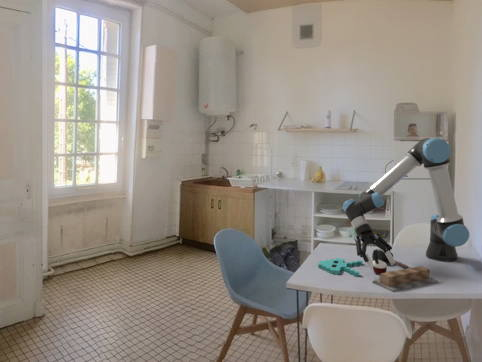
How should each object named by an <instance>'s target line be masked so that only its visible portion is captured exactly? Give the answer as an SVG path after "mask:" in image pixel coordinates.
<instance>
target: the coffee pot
mask: <svg viewBox="0 0 482 362" xmlns="http://www.w3.org/2000/svg"><path fill="white" fill-rule="evenodd" d="M374 250H375V251H377V257H378V260H381V261H383V262H385V263H386V262H389V260H388V258H387V256H386V255H385V253H386V252H384V251H383V250H382V249H380V248H376V249H374ZM393 254H394V253H392V255H393ZM393 256H394V255H393ZM371 258H372V262H373V261H374V260H375V258H374V252H373V251H372V255H371ZM395 262H396V263H395V264H397V265H398V266H400V267H401V268H402V269H408V268H410V267H409V266H408V265H407V264H405V263H403V262H400V261H397V260H395Z"/></svg>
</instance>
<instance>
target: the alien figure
mask: <svg viewBox="0 0 482 362" xmlns="http://www.w3.org/2000/svg"><path fill="white" fill-rule="evenodd" d="M353 266H354V267H357V266H363V260H361V259H357V261H356V260H353V261H347V262H345V258H339V257H338V258H336V257H335V259H334V258H330V259H325V260H320V261H319V263H318V264H317V267H318V269H321V270H322V269H325V270H324V271H325V272H326V271H329V272H328V273H329V274H330V273H333V274H332V275H340V273H341V271H344V272H345V273H348V274H349V275H353V277H359V276H360V271H358V270H355V269H354V268H352V267H353Z"/></svg>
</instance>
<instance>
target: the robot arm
mask: <svg viewBox="0 0 482 362" xmlns="http://www.w3.org/2000/svg"><path fill="white" fill-rule="evenodd" d="M450 155H451V147H450V145H449V143H448V142H447V141H446V140H444V139H442V138H439V137H427V138H423V139H421V140H419V141H418V142H417V143H416V144H415V145H413V147H411V148H410V149H409V150H408V151H407V152H406V156H404V157H403V158H401V160H399V161H398V163H396V164H395V165H394V166H392V167H391V168H390V169H389V170H388V171H387V172H385V174H383V175H382V176H381V177H380V178H379V179H378V180H377V181H376V182H374V183H373V184H371V186H369V187H368V188H367V189H366V190H365V191H364V190H363V191H362V192H360V194H358V195H359V196H358V200H355V199H354V198H350V199H348V200H346V201H344V202H343V204H342V209H343V211H344V213H345V216H346V218H348V221H349V222H350V224H351V226H352V228H353V230H354V231H355V234H356V235H357V236H356V237H354V241H355V246H356V255H357V257H360V258H362V259H363V261H364V262H365V263H366V264H367V267H368V268H369V270H370V269H371V270H373V267H374V265H373V263H372V262H373V260H371V258H370V256H369V254H368V253H367V247H368V245H373V246H376V247H377V248H378V249H380V250H382V251H384V252H386V253H385V255H386V256H387V258H388V260H389V261H388V262H389V263H390V265H391V266H394V265H395V264H397V263H396V262H395V261H396V259H394V255H392V254H393V252H391V251H392V249H393V247H392V246H391V245H390V244H389V243H388V242H387V241H386V240H385V239H384V238H383V237H382V236H381V234H380V233H378V232H377V233H376V234H374V233H373V229H372V227H371V225H370V224H369V222H368V220H367V219H366V217H365V215H366V214H369V213H370V212H373V211H375V210H377V209H380V208H381V207H383V206H384V205H385V202H384V199H383V197H382V196H383V195H384V194H386V193H387V192H388V191H390V190H391V189H392V188H393V187H394V186H395V185H396V184H398V183H399V182H400V181H401V180H402V179H403V178H405V177H406V176H407V175H408V174H410V173H411V172H412V171H413V170H414V169H416V167H421V166H423V168H424V169H425V170H427V171H428V174H429V178H430V179H429V180H430V184H431V187H432V191H433V197H434V202H435V205H436V210H437V214H431V217H430V226H429V227H430V228H429V229H430V231H429V232H430V234H429V243H428V246H427V249H426V251H425V257H426V258H428V259H431V260H435V261H439V262H454V261H457V260H458V258H459V257H458V253H457V249H456V247H462V246H463V245H465V244H466V243H467V242H468V240H469V239H470V231H469V228H468V227H467V226H466V225H465V222H464V218H463V216H462V215H461V214H459V212H458V207H457V204H456V199H455V194H454V190H453V186H452V181H451V177H450V173H449V168H448V166H449V165H450V163H451V161H450Z"/></svg>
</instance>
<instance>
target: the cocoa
mask: <svg viewBox="0 0 482 362" xmlns="http://www.w3.org/2000/svg"><path fill="white" fill-rule="evenodd" d="M375 250H376V249H374V250H373V251H372V253H373V252H374V258H375V260H374V261H373V260H372V263H373V265H374V267H373V268H372V271H373V272H374V273H375V274H376V275H379V276H380V274H381V273H386V272H387V270H388V265H387V263H386V262H383V261H381V260H378V257H377V251H375Z"/></svg>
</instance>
